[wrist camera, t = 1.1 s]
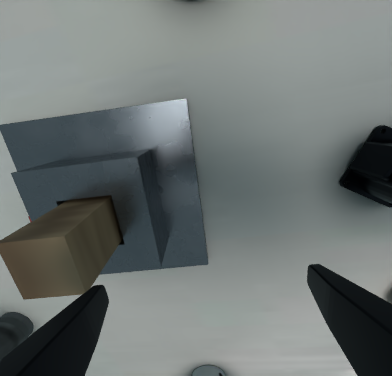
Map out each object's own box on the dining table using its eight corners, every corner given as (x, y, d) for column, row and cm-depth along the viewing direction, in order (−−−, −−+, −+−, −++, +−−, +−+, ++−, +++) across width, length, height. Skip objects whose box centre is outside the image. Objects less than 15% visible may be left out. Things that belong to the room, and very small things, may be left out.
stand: (186, 99, 19) (181, 90, 13) (207, 259, 24) (210, 297, 19) (6, 125, 20) (-64, 126, 14) (66, 273, 25) (31, 312, 20)
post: (128, 182, 20) (64, 235, 11) (136, 218, 22) (87, 294, 12) (89, 186, 21) (-7, 242, 11) (100, 222, 22) (23, 300, 12)
